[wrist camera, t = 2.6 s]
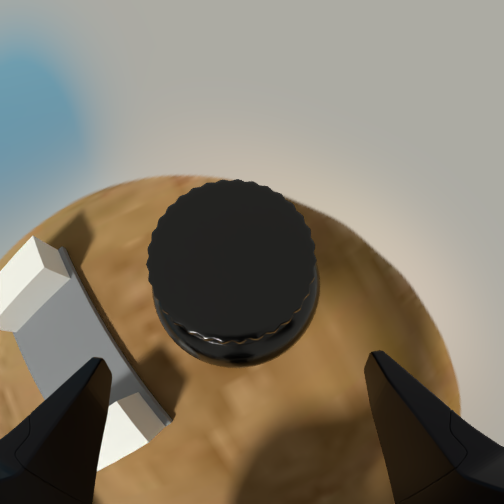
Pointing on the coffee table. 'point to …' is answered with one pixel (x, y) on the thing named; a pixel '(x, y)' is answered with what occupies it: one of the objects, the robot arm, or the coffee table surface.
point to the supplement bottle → (233, 273)
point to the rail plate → (73, 343)
